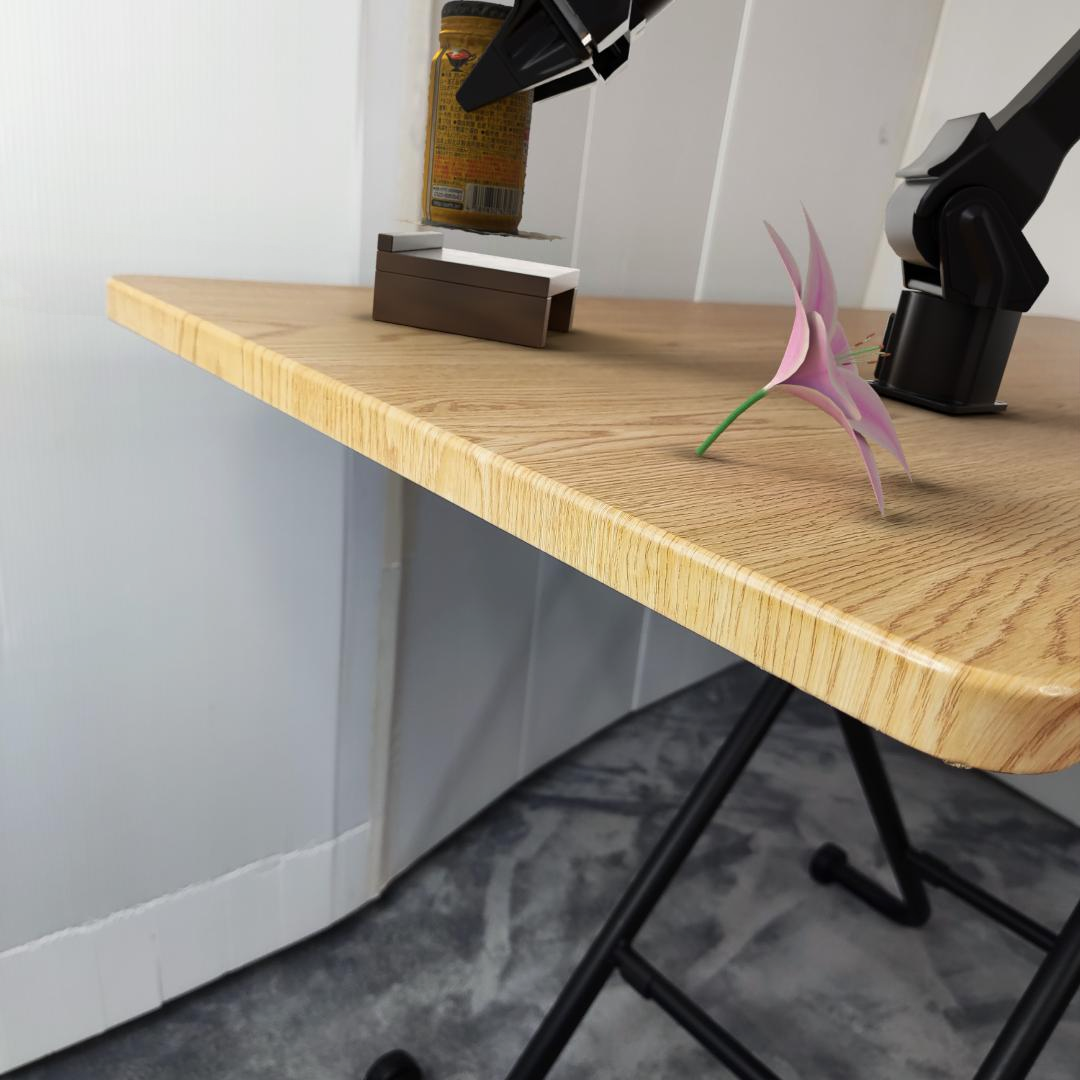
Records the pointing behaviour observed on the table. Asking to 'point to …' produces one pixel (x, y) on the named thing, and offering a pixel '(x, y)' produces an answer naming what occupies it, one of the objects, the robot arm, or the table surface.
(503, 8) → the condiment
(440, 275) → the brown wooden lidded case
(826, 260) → the lily
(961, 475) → the table surface
